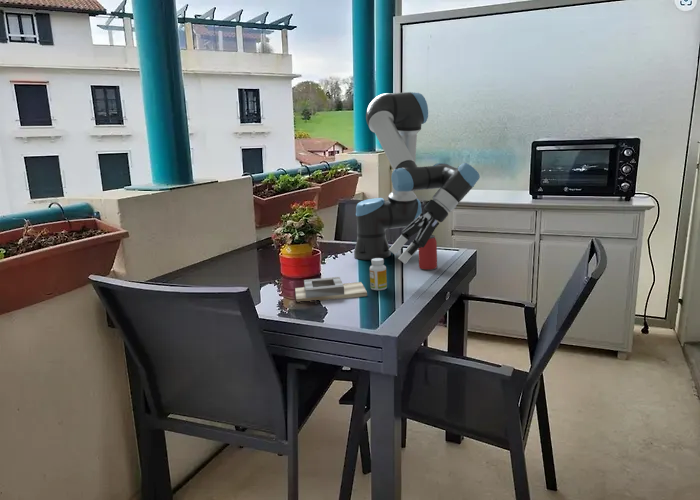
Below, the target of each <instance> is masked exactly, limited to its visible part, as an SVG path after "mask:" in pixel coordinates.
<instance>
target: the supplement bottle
mask: <svg viewBox="0 0 700 500" xmlns="http://www.w3.org/2000/svg"><path fill="white" fill-rule="evenodd" d="M370 261H371V265H370V266H369V282H370V283H369V285H370V289H371V290H372V291H384V290H386V289H387V288H388V280H387V279H388V278H387V277H388V276H387V266H386V265H385V264H384V263H385V258H374V259H372V260H370Z"/></svg>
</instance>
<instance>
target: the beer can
mask: <svg viewBox="0 0 700 500" xmlns="http://www.w3.org/2000/svg"><path fill="white" fill-rule="evenodd" d="M437 243H438V242H437V239H436V235H434V234H432V235H431V236H430V238H429V240H428V241H427V243H426V245H425V246H424V247H423V248H422V247H421V248H419V249H418V267H419V269H420V270H422V271H423V270H424V271H432V270H436V269H437V268H438V247H437V246H438V244H437Z"/></svg>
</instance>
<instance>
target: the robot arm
mask: <svg viewBox="0 0 700 500" xmlns="http://www.w3.org/2000/svg"><path fill="white" fill-rule="evenodd" d="M365 112H366V113H365V120H366V124H367V125H368V128H369V130H370V131H371V132H372V133H374V134H375V136H376V138H377V141H378V142H379V145H380V146H381V148H382V150H383V152H384V154H385V156H386V158H387V160H388V162H389V164H390V166H391V168H392V173H391V183H392V191H391V192H389V194H388V195H387V197H388V198H387V199H388V200H385V199H384V198H383V197H375V198H368V199H364V200H361V201H359V202H358V203H356V206H355V217H356V218H355V219H356V220H355V221H356V234H357V235H356V236H357V238H356V243H355V247H354V251H353V256H354V258H355V259H358V260H361V261H362V260H364V261H371V260H372V259H374V258H383V259H387V258H389V257H390V256H391V253H392V254H393V255H394V256H395V255H397V254H398V252H399V251H400V250H401V249H402V248H403V247H404V245H405V244H406V243H407V242H408V241H410V240H411V237H412V236H414V235H415V234H416V237H415V238H414V239H413V240H411V242H410V244H409V245H408V246H407V248H406V249H404V251H403V252H402V253H401V254H400V255H399V257H398V258H397V259H398V260H399V261H401V262H402V263H403V264H404V265H406V264H407V263H408V261H409V260H410V259H411V258H412V257H413V256H414V254H416V252H417V251H419V248H421V247H422V248H423V247H424V246H425V245H426V243H427V241H428V240H429V238H430V236H431V235H433V233H434V232H435V230H436V228H437V227H438V226H439V225H440V223H443V222H444V221H445V219H447V217H448V216H449V213H451V212H452V211H453V210H454V209H457V205H458V204H459V203H460V202H461V201H462V200H463V199H464V197H466V196H467V194H468V193H469V192H470V191H471V190H472V189H473V188H474V187H475V185H476V184H477V183H478V181H479V180H480V178H481V176H480V175H481V174H480V173H479V172H478V171H477V169H475V167H473V166H472V165H470V164H469V163H467V162H462V163H461V164H460V165H459V166H457V167H454V166H452V165H450V164H448V163H443V162H437V163H435V164H433V165H430V166H429V165H428V166H418V165H417V164H416V155H417V154H416V153H417V141H418V140H417V138H418V137H417V136H418V133H419V132H421V131H422V125H423V124H425V123H426V122H427V121H428V118H429V108H428V103H427V100H426V98H425V96H424V95H423V94H422V93H419V92H411V91H409V92H393V93H389V92H386V93H381V94H379V95H376V96H375V97H374V98H373V99H372V100H371V101H370V102H369V104H368V106H367V109H366V111H365ZM435 189H438V190H437V191H436V192H435V193H434V195H432V199H429V201H428V202H426V204H425V205H424V206H423V209H424V210H425V213H423V210H422V203H421V201H420V199H418V196H417V195H416V193H415V191H423V190H435ZM400 228H403V229H402V230H401V234H400V236H399V237H397V239H396V240H395V242H394V243H393V244H392V245H391V246H390V245H389V243H388V240H387V235H386V234H387V233H386V230H391V229H400Z"/></svg>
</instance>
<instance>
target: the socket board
mask: <svg viewBox="0 0 700 500" xmlns="http://www.w3.org/2000/svg"><path fill="white" fill-rule="evenodd" d="M303 283H304V285H303V287H295V288H294V289H295V302H296V301H310V302H312V301H311V300H320V301H326V300H327V301H328V299H331V300H337V299H338V300H339V299H348V298H349V299H351V298H357V297H358V298H359V297H360V298H361V297H368V292H367V290H366V287H365V285H364V284H363V283H362V281H357V282H348V283H347V282H346V283H343V281H342V279H341V277H340V276H335V277H323V278H312V279H311V278H310V279H304V280H303Z"/></svg>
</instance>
